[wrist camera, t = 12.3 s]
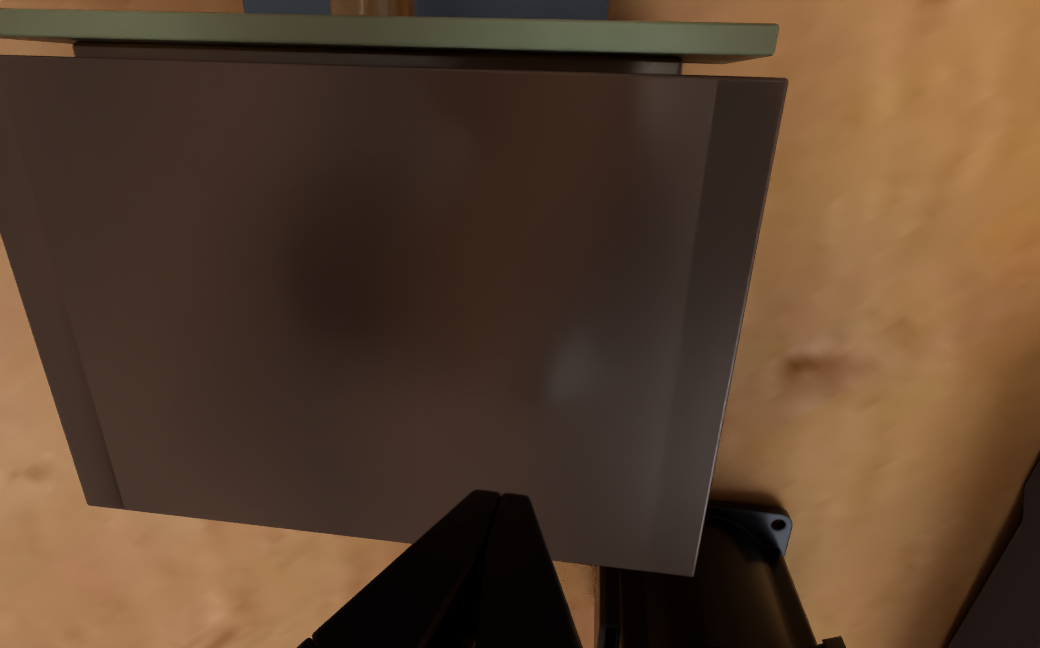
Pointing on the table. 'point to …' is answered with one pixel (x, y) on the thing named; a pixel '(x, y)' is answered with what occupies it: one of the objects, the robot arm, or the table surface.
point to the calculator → (1010, 588)
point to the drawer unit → (389, 289)
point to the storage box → (457, 8)
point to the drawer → (394, 38)
